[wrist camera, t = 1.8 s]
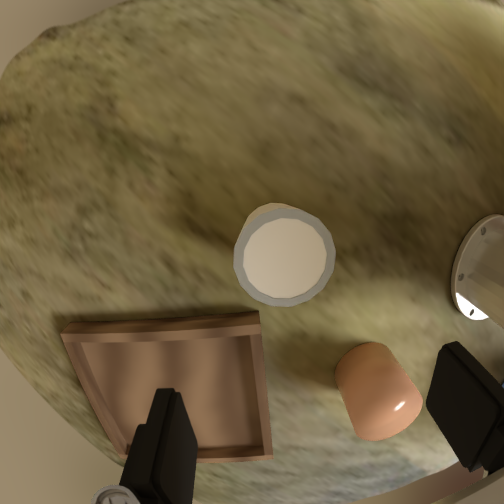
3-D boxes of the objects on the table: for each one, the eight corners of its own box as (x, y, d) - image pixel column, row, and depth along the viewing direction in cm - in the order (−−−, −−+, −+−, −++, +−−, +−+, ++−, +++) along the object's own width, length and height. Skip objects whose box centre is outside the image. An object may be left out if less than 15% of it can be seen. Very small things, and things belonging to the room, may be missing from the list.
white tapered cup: (218, 243, 27) (211, 271, 21) (267, 178, 26) (277, 185, 19) (280, 286, 29) (292, 325, 22) (329, 227, 27) (356, 250, 21)
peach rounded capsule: (396, 337, 31) (429, 380, 23) (388, 385, 33) (414, 430, 25) (335, 348, 31) (358, 398, 23) (332, 396, 33) (350, 447, 25)
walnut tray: (258, 310, 29) (260, 323, 27) (271, 444, 35) (273, 458, 33) (70, 322, 29) (60, 333, 27) (125, 445, 35) (121, 458, 33)
